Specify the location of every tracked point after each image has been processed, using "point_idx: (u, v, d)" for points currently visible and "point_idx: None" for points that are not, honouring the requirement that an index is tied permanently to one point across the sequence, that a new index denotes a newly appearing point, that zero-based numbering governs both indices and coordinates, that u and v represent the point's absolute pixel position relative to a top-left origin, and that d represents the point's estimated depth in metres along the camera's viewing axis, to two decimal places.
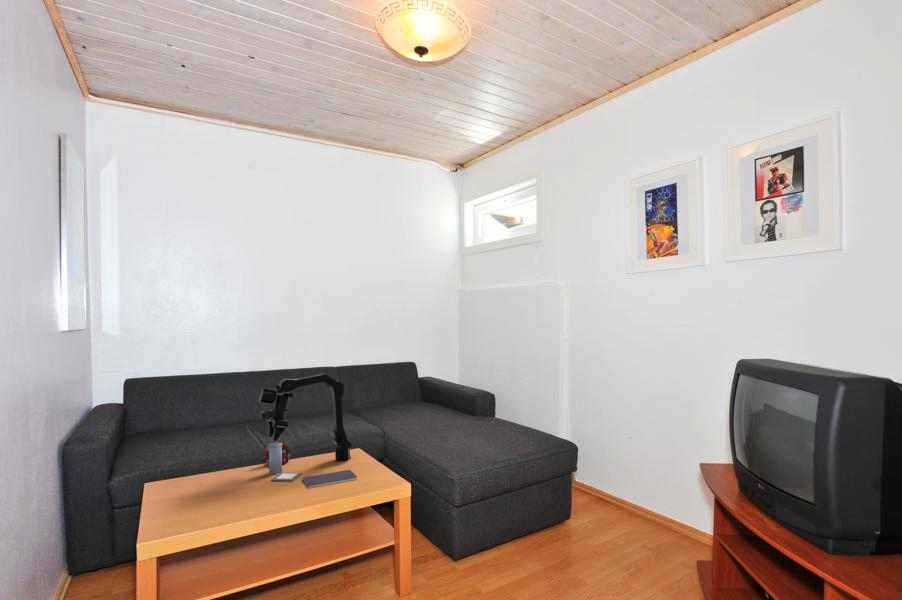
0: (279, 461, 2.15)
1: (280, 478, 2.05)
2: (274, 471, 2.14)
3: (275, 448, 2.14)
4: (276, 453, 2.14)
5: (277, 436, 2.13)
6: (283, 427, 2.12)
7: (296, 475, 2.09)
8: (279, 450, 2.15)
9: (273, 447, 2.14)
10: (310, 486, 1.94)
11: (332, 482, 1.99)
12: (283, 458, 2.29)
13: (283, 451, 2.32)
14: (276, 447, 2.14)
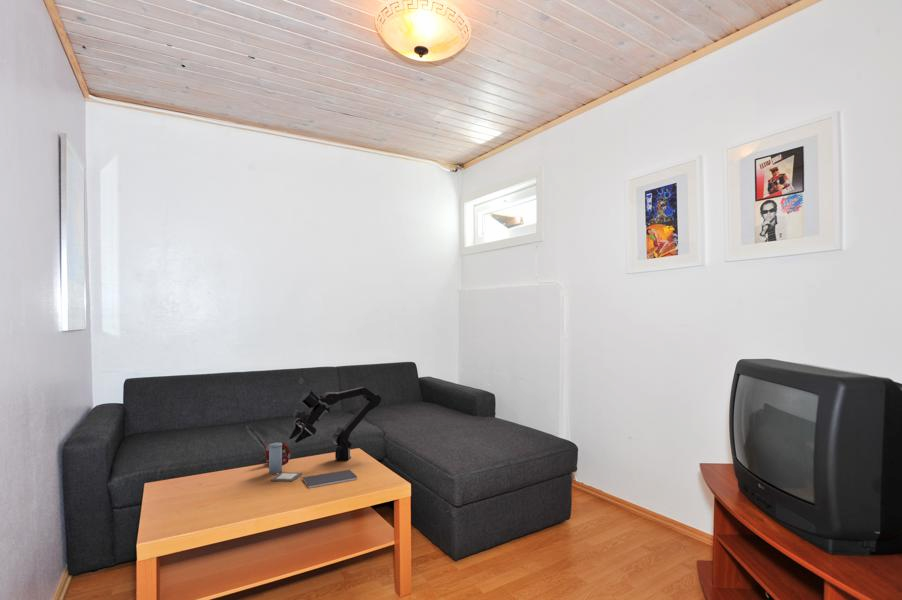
0: (279, 461, 2.15)
1: (280, 478, 2.05)
2: (274, 471, 2.14)
3: (275, 448, 2.14)
4: (276, 453, 2.14)
5: (299, 439, 2.18)
6: (310, 433, 2.19)
7: (296, 475, 2.09)
8: (279, 450, 2.15)
9: (273, 447, 2.14)
10: (310, 486, 1.94)
11: (332, 482, 1.99)
12: (283, 458, 2.29)
13: (283, 451, 2.32)
14: (276, 447, 2.14)
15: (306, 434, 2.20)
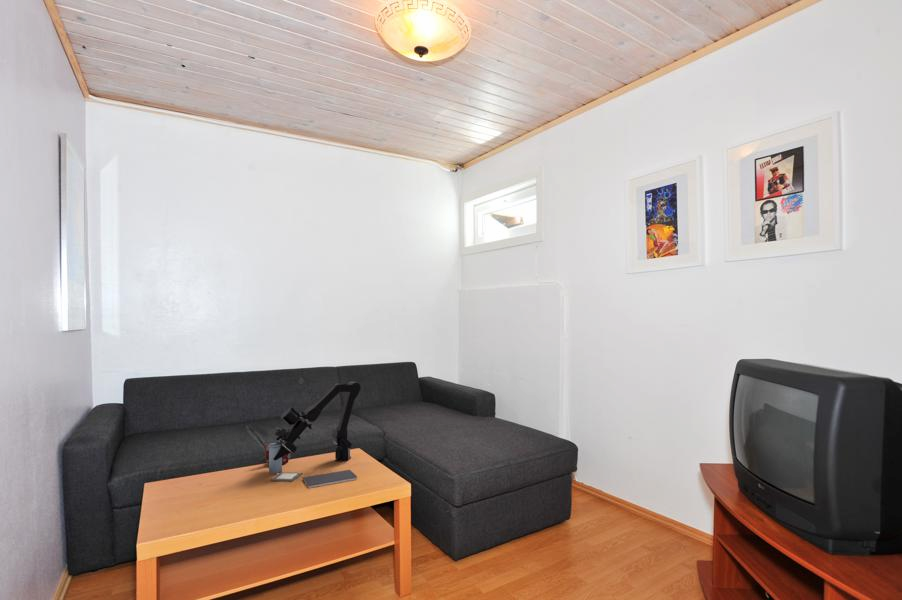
0: (279, 461, 2.15)
1: (280, 478, 2.05)
2: (274, 471, 2.14)
3: (275, 448, 2.14)
4: (276, 453, 2.14)
5: (278, 456, 2.14)
6: (289, 451, 2.14)
7: (296, 475, 2.09)
8: None
9: (273, 447, 2.14)
10: (310, 486, 1.94)
11: (332, 482, 1.99)
12: (283, 458, 2.29)
13: None
14: (276, 447, 2.14)
15: (285, 451, 2.15)
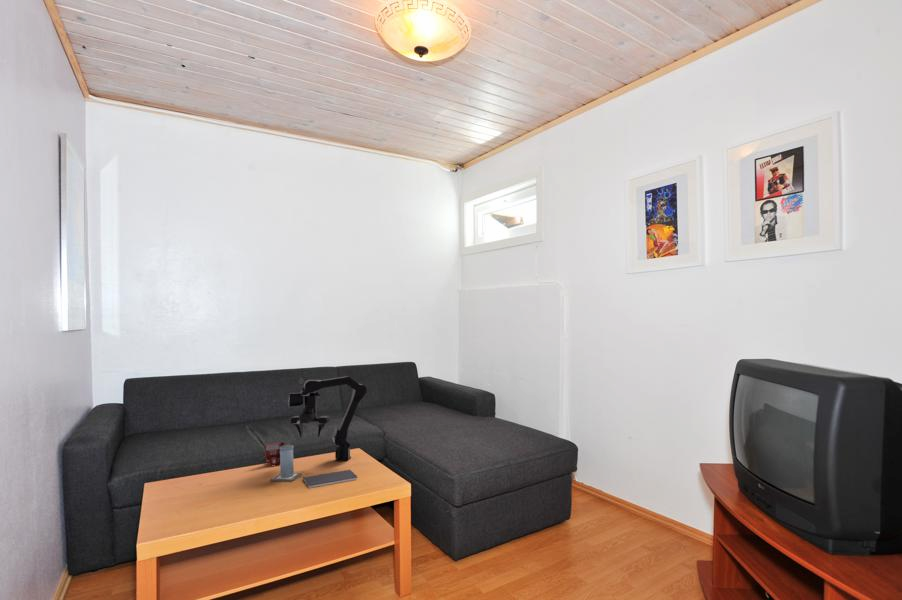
0: (292, 463, 2.08)
1: (280, 478, 2.05)
2: (288, 474, 2.06)
3: (289, 450, 2.07)
4: (290, 455, 2.07)
5: (320, 432, 2.30)
6: (326, 422, 2.31)
7: (296, 475, 2.09)
8: (292, 452, 2.08)
9: (287, 449, 2.06)
10: (310, 486, 1.94)
11: (332, 482, 1.99)
12: None
13: None
14: (290, 449, 2.07)
15: (322, 425, 2.30)
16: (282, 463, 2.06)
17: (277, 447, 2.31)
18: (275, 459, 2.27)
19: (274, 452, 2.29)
